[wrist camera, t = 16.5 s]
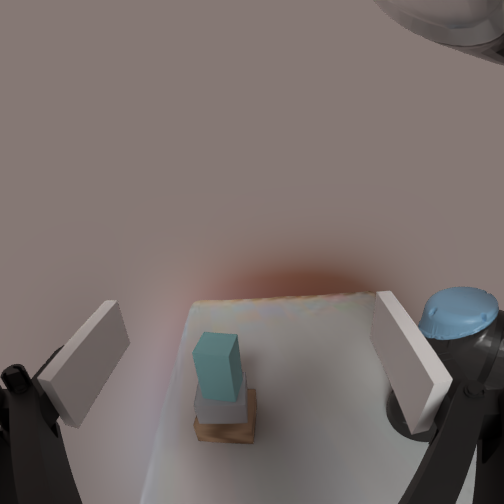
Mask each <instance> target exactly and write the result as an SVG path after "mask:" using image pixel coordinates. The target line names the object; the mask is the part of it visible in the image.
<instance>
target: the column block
mask: <svg viewBox="0 0 504 504" xmlns="http://www.w3.org/2000/svg"><path fill="white" fill-rule="evenodd" d="M192 354H193V359H194V363H195V367H196V371H197V376H198V380H199V384H200V388H201V392H202V396H203V398H206V399H213V400H220V401H228V402H236V400H237V397H238V393H239V390H240V387H241V384H242V381H243V377H242V369H241V361H240V353H239V344H238V335H237V334H223V333H210V332H204V333H203V335H202V336H201V338H200V340H199V342H198V343H197V345H196V347H195V349H194V350H193V352H192Z"/></svg>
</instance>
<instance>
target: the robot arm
mask: <svg viewBox="0 0 504 504" xmlns="http://www.w3.org/2000/svg"><path fill="white" fill-rule="evenodd" d="M374 2H375V3H376V4H377V5H378V6H379V7H380V8H381V9H382V10H383V11H384V12H385V13H386V14H387V15H388V16H389V17H391V18H392V19H393V20H395V21H396V22H397V23H399V24H400V25H401V26H403V27H405V28H406V29H408V30H410V31H412V32H413V33H415V34H417V35H420V36H422V37H424V38H426V39H429V40H431V41H434V42H436V43H438V44H441V45H444V46H447V47H450V48H452V49H455V50H458V51H461V52H463V53H466V54H469V55H472V56H475V57H478V58H481V59H484V60H487V61H490V62H493V63H496V64H500V65H504V0H374ZM418 327H419V328H418ZM418 327H417V326H416V324H415V323H414V322H413V320H412V319H411V317H410V316H409V315H408V313H407V312H406V311H405V309H404V308H403V306H402V305H401V304H400V302H399V301H398V300H397V298H396V297H395V296H394V295H393V293H392V292H391V291H381V292H376V300H375V308H374V316H373V323H372V329H371V336H370V339H371V341H372V343H373V345H374V348H375V350H376V352H377V354H378V356H379V358H380V361H381V363H382V365H383V367H384V370H385V372H386V374H387V376H388V379H389V381H390V383H391V386H392V388H393V391H392V393H391V395H390V398H389V401H388V404H387V416H388V419H389V421H390V423H391V425H392V426H393V427H394V428H395V429H396V430H397V431H398V432H399V433H400V434H402V435H403V436H405V437H407V438H409V439H412V440H415V441H421V442H429V443H428V444H429V446H428V449H427V451H426V453H425V455H424V457H423V459H422V461H421V463H420V465H419V467H418V469H417V471H416V473H415V475H414V477H413V479H412V480H411V482H410V484H409V486H408V488H407V489H406V491H405V493H404V495H403V496H402V498H401V500H400V501H399V503H398V504H455V503H456V501H457V499H458V496H459V494H460V491H461V489H462V486H463V484H464V481H465V478H466V475H467V473H468V470H469V467H470V464H471V461H472V458H473V455H474V451H475V448H476V445H477V461H476V476H475V487H474V495H473V503H472V504H504V311H502V310H499V307H498V302H497V300H496V298H495V297H494V296H493V295H492V294H487V292H486V291H484V290H481V289H478V288H472V287H452V288H448V289H444V290H441V291H439V292H437V293H435V294H434V295H432V296H431V297H430V299H429V300H428V301H427V303H426V305H425V308H424V312H423V315H422V318H421V321H420V322H419V325H418ZM129 345H130V341H129V338H128V335H127V331H126V328H125V325H124V321H123V318H122V315H121V311H120V308H119V304H118V301H112V300H109V301H108V300H106V301H105V302H104V303H103V304H102V305H101V306H100V307H99V308H98V309H97V310H96V311H95V312H94V314H93V315H92V316H91V317H90V318H89V319H88V320H87V321H86V322H85V323H84V324H83V325H82V327H81V328H80V329H79V330H78V331H77V332H76V333H75V334H74V335H73V337H72V338H71V339H70V340H69V341H68V342H67V343H66V344H65V345H63V346H62V347H60V348H59V349H58V350H56V351H55V352H54V353H53V354H52V356H51V357H50V358H49V359H48V360H47V361H46V364H44V365H43V366H42V367H41V368H40V369H39V371H38V372H37V373H36V374H35V375H34V377H33V378H32V379H30V377H29V375H28V373H27V371H26V369H25V368H24V366H23V365H21V364H14V365H11V366H9V367H7V368H6V369H5V370H4V371H3V372H2V374H1V379H2V380H3V382H4V384H5V386H6V387H7V389H2V387H1V386H0V426H1V427H0V504H82V501H81V498H80V496H79V493H78V490H77V487H76V484H75V481H74V478H73V475H72V472H71V469H70V465H69V462H68V458H67V455H66V451H65V447H64V443H63V439H62V435H61V431H60V426H59V425H58V423H57V421H56V420H57V419H58V417H59V416H60V417H61V419H62V420H63V422H64V423H65V425H68V426H71V427H75V428H79V427H80V425H81V424H82V422H83V420H84V418H85V417H86V415H87V413H88V411H89V410H90V408H91V406H92V405H93V403H94V401H95V399H96V398H97V396H98V395H99V393H100V391H101V390H102V388H103V386H104V384H105V383H106V381H107V380H108V378H109V376H110V375H111V373H112V371H113V370H114V368H115V367H116V365H117V364H118V362H119V360H120V359H121V357H122V356H123V354H124V352H125V351H126V349H127V348H128V346H129Z"/></svg>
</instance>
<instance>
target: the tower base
mask: <svg viewBox="0 0 504 504" xmlns="http://www.w3.org/2000/svg"><path fill="white" fill-rule="evenodd" d="M247 410H248V423H237V424H199V421H198V418H197V415H196V418H195V422H194V425H193V426H194V429H195V432H196V435H197V437H198V440H199V441H208V442H221V443H241V444H253V442H254V432H255V421H256V410H257V401H256V390H255V389H247Z"/></svg>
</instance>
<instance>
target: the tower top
mask: <svg viewBox="0 0 504 504" xmlns="http://www.w3.org/2000/svg"><path fill="white" fill-rule="evenodd" d="M242 377H243V381H242V384H241V387H240V390H239V393H238V397H237V400H236V402H228V401H220V400H213V399H206V398H203V396H202V392H201V388H200V384H199V380H198V386H197V391H196V396H195V402H194V408H195V411H196V415H197V418H198V421H199V424H237V423H248V410H247V382H246V373H245V372H242Z"/></svg>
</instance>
